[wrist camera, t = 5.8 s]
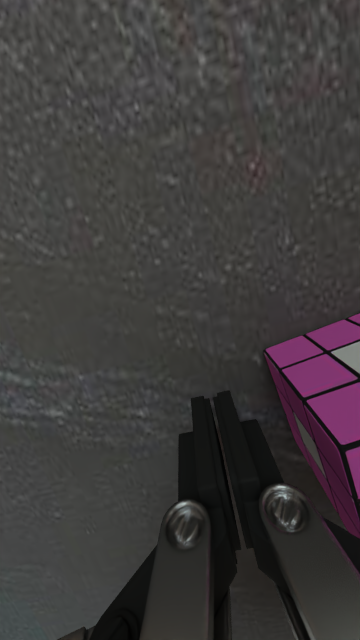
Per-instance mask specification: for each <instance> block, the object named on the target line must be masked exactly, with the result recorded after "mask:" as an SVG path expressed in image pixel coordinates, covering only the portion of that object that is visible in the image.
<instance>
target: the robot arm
mask: <svg viewBox="0 0 360 640" xmlns="http://www.w3.org/2000/svg"><path fill="white" fill-rule="evenodd" d="M217 395H218V397H213V400H214V405H215V410H216V415H217V419H218V424H219V429H220V433H221V438H222V443H223V447H224V452H225V457H226V462H227V466H228V471H229V476H230V480H231V485H232V489H233V493H234V497H235V502H236V506H237V510H238V514H239V518H240V523H241V527H242V531H243V535H244V539H245V544H246V548H247V549H249V548H254V552H255V557H256V561H257V564H258V568H259V569H260V570H261V571H262V572H264V573H265V574H266V575H267V576H268V577H269V578H270V579H272V580H273V581H274V585H275V588H276V590H277V593H278V595H279V598H280V601H281V603H282V606H283V608H284V611H285V613H286V616H287V618H288V621H289V623H290V626H291V629H292V631H293V634H294V636H295V639H296V640H360V538H358V537H356V536H354V535H353V534H351V533H349V532H348V531H346V530H344V529H342V528H341V527H339V526H337V525H336V524H334V523H332V522H330V521H329V520H327V519H325V518H324V517H322V516H321V515H320V514H319V512H318V511H317V509H316V508H315V506H314V505H313V503H312V502H311V500H310V499H309V498H308V497H307V496H306V494H305V493H304V492H302V491H301V490H300V489H298V488H297V487H295V486H292V485H290V484H286V483H284V481H283V479H282V477H281V474H280V472H279V470H278V467H277V465H276V463H275V460H274V458H273V456H272V453H271V451H270V449H269V447H268V444H267V442H266V440H265V437H264V435H263V433H262V430H261V428H260V426H259V423H258V421H257V420H256V419H255V420H250V421H244V422H240V421H239V418H238V415H237V412H236V409H235V406H234V403H233V400H232V397H231V394H230V391H224V392H219V393H217ZM191 406H192V420H193V432H188V433H183V434H179V470H178V502H176V503H174V504H173V505H172V506H171V507H170V508H169V509H168V510H167V512H166V514H165V515H164V517H163V520H162V523H161V528H160V533H159V538H158V544H157V546H156V547H155V548H154V549H153V551H152V552H151V553H150V555H149V556H148V557H147V558H146V560H145V561H144V562H143V564H142V565H141V566H140V567H139V569H138V570H137V571H136V573H135V574H134V575H133V576H132V578H131V579H130V580H129V582H128V583H127V584H126V586H125V587H124V588H123V589H122V591H121V592H120V593H119V595H118V596H117V597H116V598H115V600H114V601H113V602H112V604H111V605H110V606H109V607H108V609H107V610H106V611H105V613H104V614H103V615H102V616H101V618H100V620H99V621H98V623H97V624H96V626H93V627H91V628H89V629H87V630H86V628H85V627H82V628H80V629H78V630H76V631H74V632H72V633H70V634H68V635H66V636H64V637H62V638H60V639H58V640H232V624H231V597H230V587H229V586H230V584H231V582H232V580H233V579H234V577H235V575H236V573H237V567H236V564H237V559H236V553H235V551H236V550H241V545H240V540H239V535H238V530H237V525H236V520H235V515H234V510H233V505H232V500H231V495H230V490H229V485H228V480H227V475H226V470H225V465H224V460H223V455H222V450H221V446H220V442H219V438H218V434H217V429H216V425H215V421H214V417H213V413H212V409H211V405H210V400H209V398H208V399H204V396H200V397H195V398H191Z"/></svg>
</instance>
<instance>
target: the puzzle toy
mask: <svg viewBox="0 0 360 640" xmlns="http://www.w3.org/2000/svg"><path fill="white" fill-rule="evenodd" d="M264 355H265V358H266V360H267V363H268V366H269V369H270V372H271V374H272V377H273V380H274V382H275V384H276V385H275V386H276V388H277V391H278V394H279V397H280V400H281V402H282V405H283V408H284V411H285V413H286V416H287V419H288V422H289V425H290V428H291V430H292V433H293V436H294V439H295V441H296V443H297V444H298V446H299V448H300V450H301V451H302V453H303V455H304V456H305V458H306V460H307V462H308V463H309V465H310V467H311V468H312V469H313V471H314V474H315V475H316V477H317V479H318V480H319V482H320V484H321V486H322V487H323V489H324V491H325V492H326V494H327V496H328V498H329V499H330V501H331V503H332V504H333V506H334V508H335V510H336V511H337V513H338V514H339V515H340V518H341V520H342V522H343V523H344V525H345V527H346V528H347V530H348V532H349V533H351V534H353V535H354V536H356V537H358V538H360V314H357V315H354V316H352V317H349V318H347V319H346V320H341V321H338V322H336V323H333V324H331V325H328V326H325V327H323V328H320V329H317V330H315V331H312V332H309V333H307V334H305V335H304V336H299V337H296V338H293V339H291V340H288V341H286V342H283V343H280V344H278V345H275V346H272V347H270V348H267V349H265V350H264Z"/></svg>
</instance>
